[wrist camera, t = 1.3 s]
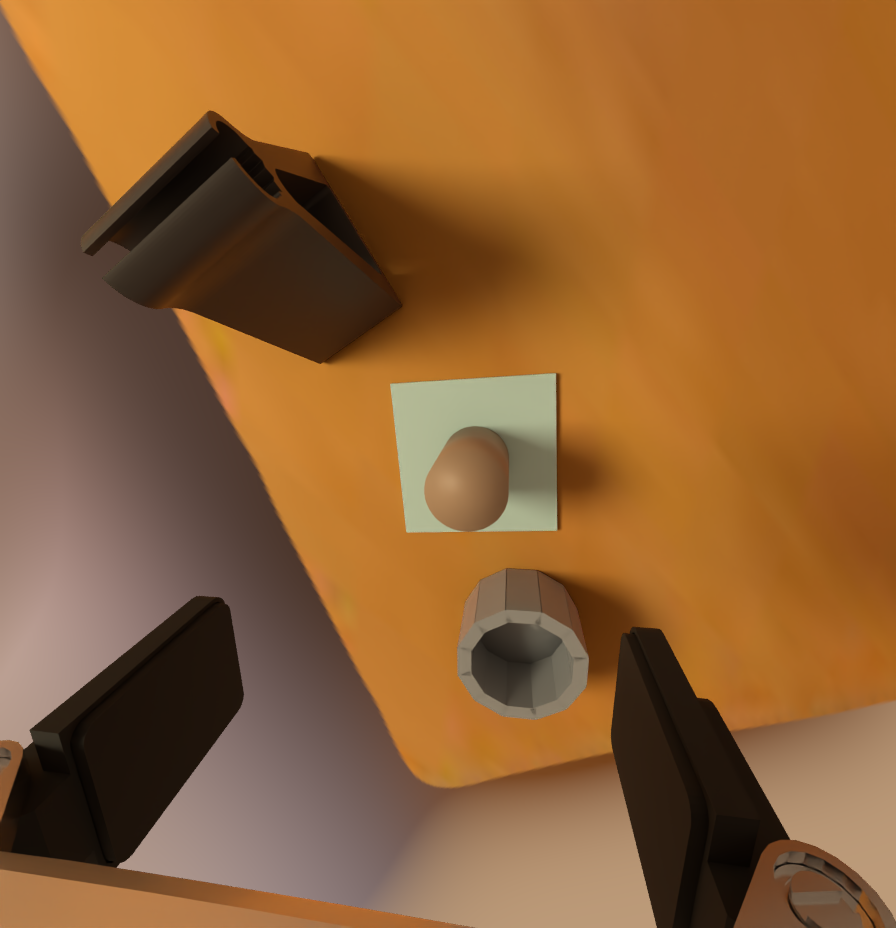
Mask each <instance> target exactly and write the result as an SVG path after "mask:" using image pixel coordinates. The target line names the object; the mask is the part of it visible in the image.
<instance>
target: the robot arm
mask: <svg viewBox="0 0 896 928" xmlns="http://www.w3.org/2000/svg"><path fill="white" fill-rule="evenodd" d="M243 696H244V692H243V686H242V680H241V673H240V667H239V661H238V655H237V649H236V643H235V637H234V631H233V625H232V619H231V613H230V608H229V606H228V605H226V604H225V603H224V601H223V599H222V598H219V597H206V596H196V597H194V598H193V599H191V600H190V601H189V602H187V603H186V604H185V605H184V606H183V607H181V608H180V609H179V610H178V611H176V612H175V613H174V614H173V615H171V616H170V617H169V618H168V619H166V620H165V621H164V622H163V623H162V624H160V625H159V626H158V627H157V628H155V629H154V630H153V631H152V632H150V633H149V634H148V635H147V636H145V637H144V638H143V639H142V640H141V641H139V642H138V643H137V644H136V645H134V646H133V647H132V648H131V649H129V650H128V651H127V652H126V653H124V654H123V655H122V656H121V657H119V658H118V659H117V660H116V661H114V662H113V663H112V664H111V665H109V666H108V667H107V668H106V669H105V670H103V671H102V672H101V673H100V674H98V675H97V676H96V677H95V678H93V679H92V680H91V681H90V682H88V683H87V684H86V685H85V686H83V687H82V688H81V689H80V690H79V691H77V692H76V693H75V694H74V695H72V696H71V697H70V698H69V699H68V700H66V701H65V702H64V703H62V704H61V705H60V706H59V707H58V708H56V709H55V710H54V711H53V712H51V713H50V714H49V715H48V716H47V717H45V718H44V719H43V720H42V721H40V722H39V723H38V724H37V725H35V726H34V727H33V728H32V729H30V733H31V736H32V739H33V743H31V744H30V745H29V746H28V747H27V748H25V749H23V747H22V746H21V745H20V744H19V742H15V741H11V740H3V741H0V928H473V927H468V926H462V925H456V924H450V923H445V922H439V921H433V920H427V919H422V918H415V917H410V916H404V915H398V914H393V913H387V912H381V911H375V910H370V909H364V908H358V907H352V906H346V905H340V904H334V903H328V902H322V901H316V900H310V899H304V898H298V897H292V896H286V895H280V894H274V893H268V892H262V891H255V890H250V889H244V888H238V887H232V886H226V885H219V884H214V883H208V882H202V881H196V880H189V879H183V878H176V877H170V876H163V875H158V874H152V873H145V872H139V871H132V870H126V869H119V868H117V866H118V865H119V864H120V863H122V862H124V861H126V860H127V859H128V858H129V857H130V856H131V855H132V854H133V853H134V852H135V850H136V849H137V847H138V846H139V845H140V843H141V842H142V840H143V839H144V838H145V837H146V835H147V834H148V832H149V831H150V830H151V828H152V827H153V826H154V824H155V823H156V822H157V820H158V819H159V818H160V816H161V815H162V813H163V812H164V811H165V809H166V808H167V807H168V805H169V804H170V803H171V801H172V800H173V798H174V797H175V796H176V795H177V793H178V792H179V790H180V789H181V788H182V786H183V785H184V783H185V782H186V781H187V779H188V778H189V777H190V776H191V774H192V773H193V772H194V770H195V769H196V767H197V766H198V765H199V763H200V762H201V761H202V759H203V758H204V757H205V755H206V754H207V753H208V751H209V750H210V748H211V747H212V746H213V744H214V743H215V742H216V740H217V739H218V738H219V736H220V735H221V734H222V732H223V731H224V729H225V728H226V727H227V725H228V724H229V723H230V721H231V720H232V719H233V717H234V716H235V714H236V713H237V712H238V710H239V709H240V707H241V705H242V701H243ZM611 742H612V749H613V753H614V757H615V761H616V765H617V769H618V773H619V777H620V781H621V785H622V789H623V793H624V797H625V801H626V805H627V809H628V813H629V817H630V821H631V825H632V829H633V833H634V837H635V841H636V845H637V849H638V853H639V857H640V861H641V865H642V869H643V873H644V877H645V881H646V885H647V889H648V893H649V897H650V901H651V905H652V909H653V913H654V917H655V921H656V926H657V928H896V921H895V919H894V917H893V915H892V913H891V912H890V910H889V909H888V908H887V906H886V905H885V903H884V902H883V901H882V899H881V898H880V897H879V895H878V894H877V892H875V890H874V889H873V888H871V886H869V884H868V883H867V882H866V881H865V880H863V879H862V877H860V875H859V874H858V873H856V872H855V871H854V870H852V869H851V868H850V867H848V866H847V865H846V864H844V863H843V862H842V861H840V860H839V859H838V858H836V857H835V856H833V855H831V854H829V853H827V852H825V851H823V850H821V849H820V848H818V847H816V846H813V845H810V844H807V843H803V842H800V841H797V840H790V838H789V837H788V835H787V833H786V831H785V830H784V828H783V826H782V824H781V822H780V820H779V819H778V817H777V815H776V814H775V812H774V810H773V808H772V806H771V804H770V803H769V801H768V799H767V797H766V796H765V794H764V792H763V790H762V788H761V787H760V785H759V783H758V781H757V780H756V778H755V776H754V774H753V772H752V771H751V769H750V767H749V765H748V763H747V762H746V760H745V758H744V756H743V755H742V753H741V751H740V749H739V747H738V746H737V744H736V742H735V740H734V738H733V737H732V735H731V733H730V731H729V730H728V728H727V726H726V724H725V722H724V721H723V719H722V717H721V715H720V714H719V712H718V710H717V708H716V707H715V706H714V704H713V703H712V702H711V701H710V700H708V699H702V698H697V697H696V695H695V693H694V691H693V689H692V687H691V686H690V684H689V682H688V680H687V678H686V676H685V674H684V672H683V670H682V668H681V666H680V664H679V663H678V661H677V659H676V657H675V655H674V653H673V651H672V649H671V647H670V645H669V643H668V642H667V640H666V638H665V636H664V634H663V632H662V631H661V630H660V629H655V628H641V627H632V628H631V631H630V634H628V633H623V634H622V637H621V645H620V654H619V663H618V672H617V682H616V691H615V700H614V709H613V718H612V728H611Z"/></svg>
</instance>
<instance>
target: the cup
mask: <svg viewBox="0 0 896 928" xmlns="http://www.w3.org/2000/svg"><path fill="white" fill-rule="evenodd" d="M457 651H458V676H459V678H460V679H461V681H462V682H463V684H464V685H465V687H466V688H467V690H468V691H469V693H470V694H471V696H472V698H473V699H474V700H475V701H477V702H478V703H480V704H482V705H484V706H485V707H487V708H489V709H491V710H492V711H494V712H496V713H498V714H499V715H501V716H504V717H514V718H523V719H533V720H537V719H540V718H543V717H546V716H549V715H552V714H555V713H557V712H560V711H563V710H566V709H567V708H568V707H569V706H570V705H571V704H572V703H573V702H574V700H575V699H576V698H577V697H578V696H579V695H580V694H581V692H582V691H583V690H584V689H585V688H586V686H587V675H588V664H589V656H588V652H587V648H586V643H585V639H584V635H583V631H582V627H581V623H580V618H579V614H578V610H577V608H576V606H575V604H574V603H573V601H572V599H571V597H570V596H569V594H568V592H567V591H566V589H565V587H564V586H563V585H562V584H560V583H558V582H557V581H555V580H553V579H552V578H550V577H548V576H546V575H545V574H543V573H541V572H539V571H537V570H525V569H504V570H502V571H500V572H497V573H495V574H493V575H491V576H488V577H486V578H484V579H482V580H480V581H479V583H478V584H477V585H476V587H475V588H474V590H473V591H472V593H471V594H470V596H469V597H468V599H467V600H466V602H465V607H464V613H463V618H462V624H461V630H460V636H459V641H458V647H457Z"/></svg>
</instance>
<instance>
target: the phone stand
mask: <svg viewBox="0 0 896 928" xmlns="http://www.w3.org/2000/svg"><path fill="white" fill-rule="evenodd" d="M108 241H112V242H114V243H117V244H119V245H121V246H123V247H124V248H126V249H128V250H129V251H130V252H129V253H128V254H127V255H126V256H125V257H124V258H123V259H122V260H121V261H120V262H119V263H118V264H117V265H115V266H114V267H113V268H112V269H111V270H110V271H109V272H108V273H107V274H106V275H105V276H104V277H103V278H102V279H104V281H106V282H107V283H108V284H109V285H110V286H112V288H114V289H115V290H116V291H118V292H119V293H120V294H122V295H123V296H125V297H127V298H128V299H130V300H132V301H134V302H136V303H138V304H140V305H143V306H145V307H148V308H153V309H163V308H178V309H184V310H187V311H190V312H193V313H196V314H198V315H201V316H203V317H206V318H208V319H211V320H213V321H216V322H218V323H221V324H223V325H226V326H228V327H230V328H233V329H235V330H238V331H240V332H243V333H245V334H248V335H250V336H253V337H255V338H258V339H260V340H262V341H265V342H267V343H270V344H272V345H275V346H277V347H280V348H282V349H285V350H287V351H290V352H292V353H294V354H297V355H299V356H302V357H304V358H307V359H309V360H312V361H314V362H317V363H319V364H321V363H323V362H324V361H325V360H327V359H328V358H330V357H331V356H332V355H334V354H335V353H337V352H338V351H340V350H341V349H342V348H344V347H345V346H347V345H348V344H349V343H351V342H352V341H354V340H355V339H357V338H358V337H359V336H361V335H362V334H364V333H365V332H366V331H368V330H369V329H371V328H372V327H373V326H375V325H376V324H378V323H379V322H381V321H382V320H383V319H385V318H386V317H388V316H389V315H390V314H392V313H393V312H395V311H396V310H397V309H399V308H400V307H402V304H401V302H400V300H399V299H398V297H397V295H396V294H395V292H394V290H393V289H392V287H391V286H390V284H389V282H388V281H387V279H386V277H385V276H384V274H383V272H382V271H381V269H380V268H379V266H378V264H377V263H376V261H375V259H374V258H373V256H372V254H371V253H370V251H369V250H368V248H367V246H366V245H365V243H364V241H363V240H362V238H361V237H360V236H359V234H358V233H357V230H356V228H355V227H354V225H353V223H352V222H351V220H350V218H349V217H348V215H347V214H346V212H345V210H344V209H343V207H342V205H341V204H340V202H339V200H338V199H337V197H336V196H335V194H334V192H333V191H332V189H331V187H330V186H329V184H328V183H327V181H326V179H325V178H324V176H323V174H322V173H321V171H320V169H319V168H318V166H317V165H316V163H315V161H314V160H313V158H312V157H311V156H310V155H309V154H308V153H306V152H302V151H297V150H293V149H288V148H284V147H280V146H275V145H271V144H266V143H262V142H257V141H254V140H251V139H250V138H248V137H246V136H245V135H243V134H242V133H241V132H239V131H238V130H237V129H236V128H234V127H233V126H232V125H231V124H230V123H229V122H228V121H226V120H225V119H224V118H223V117H222V116H220V115H219V114H217V113H216V112H214V111H208V112H207V113H206V114H205V115H204V116H203V117H202V118H201V119H200V120H199V121H198V122H197V123H196V124H195V125H194V126H193V127H192V128H191V129H190V130H189V131H188V132H187V133H186V134H185V135H184V136H183V137H182V138H181V139H180V140H179V141H178V142H177V143H176V144H175V145H174V146H173V147H172V148H171V149H170V150H169V151H168V152H167V153H166V154H165V155H164V156H163V157H162V158H161V159H159V160H158V161H157V162H156V163H155V164H154V165H153V166H152V167H151V168H150V169H149V170H148V171H147V172H146V173H145V174H144V175H143V176H142V177H141V178H140V179H139V180H138V181H137V182H136V183H135V184H134V185H133V186H132V187H131V188H130V189H129V190H128V191H127V192H126V193H125V194H124V195H123V196H122V197H121V198H120V199H119V200H118V201H117V202H116V203H115V204H114V205H113V206H112V207H111V208H110V209H109V210H108V211H107V212H106V213H105V214H104V215H103V216H102V217H101V218H100V219H99V220H98V221H97V222H96V223H95V224H94V225H93V226H92V227H91V228H90V229H89V230H88V231H87V232H86V233H85V234H84V235H83V236H82V238H81V248H82V250H83V253H86V254H88V255H91V256H93V255H94V254H95V253H96V252H97V251H99V250H100V249H101V248H102V247H103V246H104V245H105V244H106V243H107V242H108Z"/></svg>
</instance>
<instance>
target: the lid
mask: <svg viewBox="0 0 896 928" xmlns="http://www.w3.org/2000/svg"><path fill="white" fill-rule="evenodd" d="M390 385H391V394H392V404H393V413H394V422H395V431H396V440H397V450H398V459H399V468H400V477H401V486H402V496H403V505H404V514H405V523H406V532H479V531H557V449H556V373H549V374H533V375H517V376H501V377H486V378H470V379H454V380H439V381H423V382H407V383H392V384H390Z"/></svg>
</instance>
